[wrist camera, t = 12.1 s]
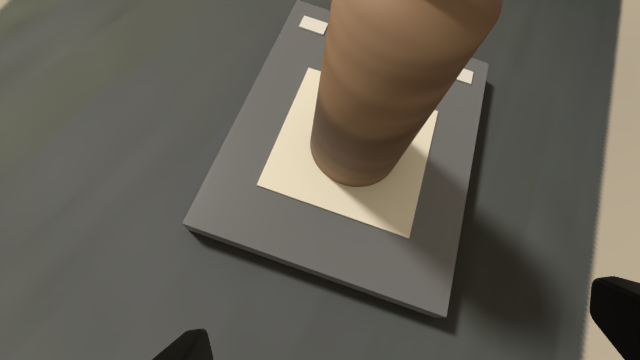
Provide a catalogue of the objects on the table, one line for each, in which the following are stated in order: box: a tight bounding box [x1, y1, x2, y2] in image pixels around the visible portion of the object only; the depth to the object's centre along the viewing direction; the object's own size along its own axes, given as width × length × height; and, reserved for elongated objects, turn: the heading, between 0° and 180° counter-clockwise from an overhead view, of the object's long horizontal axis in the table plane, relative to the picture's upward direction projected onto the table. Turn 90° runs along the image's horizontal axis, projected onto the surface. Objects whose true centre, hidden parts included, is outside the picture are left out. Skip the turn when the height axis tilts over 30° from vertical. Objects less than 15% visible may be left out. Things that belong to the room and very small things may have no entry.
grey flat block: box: [182, 0, 489, 318], centre depth 20 cm, size 16×13×1 cm
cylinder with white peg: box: [310, 0, 502, 187], centre depth 13 cm, size 5×5×13 cm
